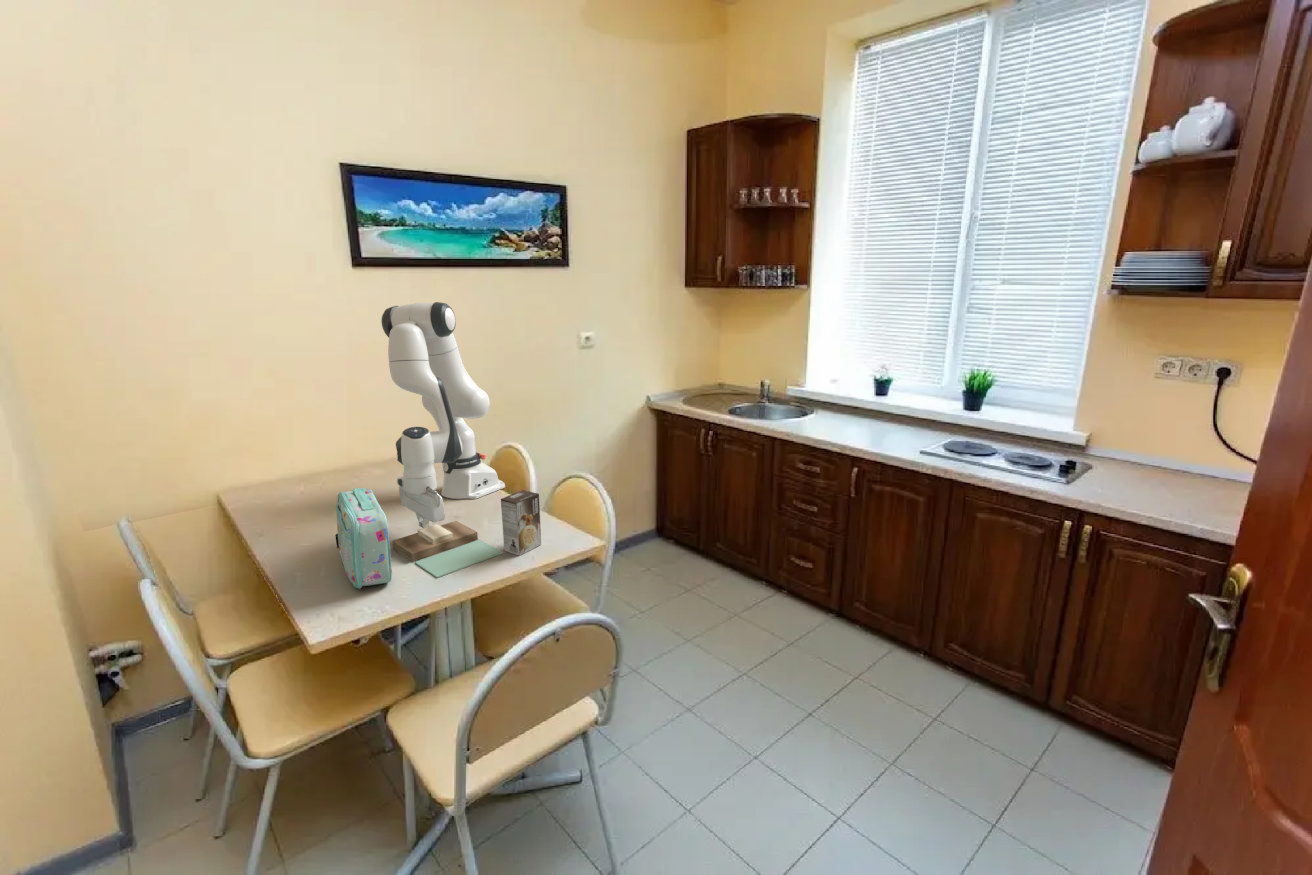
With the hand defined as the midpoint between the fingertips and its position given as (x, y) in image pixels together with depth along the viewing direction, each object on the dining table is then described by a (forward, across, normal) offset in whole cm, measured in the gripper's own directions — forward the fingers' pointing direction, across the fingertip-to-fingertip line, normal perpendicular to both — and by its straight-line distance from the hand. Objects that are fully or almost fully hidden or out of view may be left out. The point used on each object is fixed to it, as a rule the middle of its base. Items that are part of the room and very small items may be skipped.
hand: (424, 527), depth 179 cm
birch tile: (0, -6, 0) cm, 6 cm away
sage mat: (+4, -19, 0) cm, 19 cm away
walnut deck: (+4, -6, 0) cm, 7 cm away
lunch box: (+4, -8, +21) cm, 23 cm away
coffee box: (+4, -26, -16) cm, 31 cm away
